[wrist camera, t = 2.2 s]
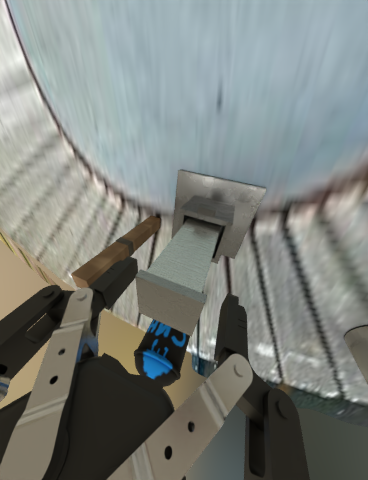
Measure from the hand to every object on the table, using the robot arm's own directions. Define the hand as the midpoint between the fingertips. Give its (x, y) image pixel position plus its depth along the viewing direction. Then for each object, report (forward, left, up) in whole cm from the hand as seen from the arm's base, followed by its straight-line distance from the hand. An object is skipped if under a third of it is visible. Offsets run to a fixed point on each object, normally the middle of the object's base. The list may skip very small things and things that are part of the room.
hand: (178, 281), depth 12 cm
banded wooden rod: (+10, +4, -14) cm, 18 cm away
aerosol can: (+1, +20, -15) cm, 25 cm away
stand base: (0, 0, -14) cm, 14 cm away
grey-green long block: (0, 0, -13) cm, 13 cm away
